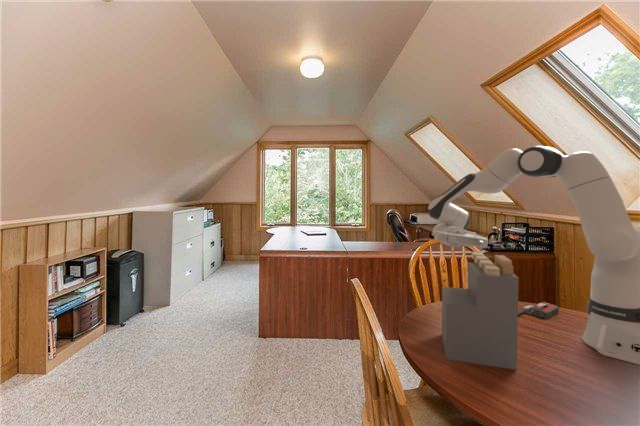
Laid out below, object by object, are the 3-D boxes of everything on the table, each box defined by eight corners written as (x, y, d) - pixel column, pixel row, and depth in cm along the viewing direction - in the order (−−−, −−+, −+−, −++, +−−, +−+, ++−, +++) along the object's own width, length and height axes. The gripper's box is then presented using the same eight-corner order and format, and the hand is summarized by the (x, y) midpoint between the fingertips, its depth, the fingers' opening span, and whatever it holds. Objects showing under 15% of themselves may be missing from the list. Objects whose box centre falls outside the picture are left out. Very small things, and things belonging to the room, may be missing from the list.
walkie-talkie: (536, 306, 125) (512, 316, 115) (536, 296, 125) (512, 306, 115) (561, 313, 118) (538, 325, 107) (561, 302, 117) (538, 313, 107)
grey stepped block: (441, 334, 101) (442, 250, 99) (500, 342, 95) (502, 253, 93) (446, 359, 86) (446, 260, 84) (516, 370, 80) (519, 264, 78)
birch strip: (471, 256, 105) (471, 251, 105) (480, 257, 104) (480, 251, 104) (487, 275, 81) (487, 268, 81) (499, 276, 80) (499, 269, 80)
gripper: (431, 226, 124) (444, 230, 111) (478, 232, 124) (497, 237, 110) (428, 240, 125) (441, 246, 111) (475, 247, 125) (494, 253, 111)
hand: (469, 242), depth 111 cm, fingers open, 8 cm apart
